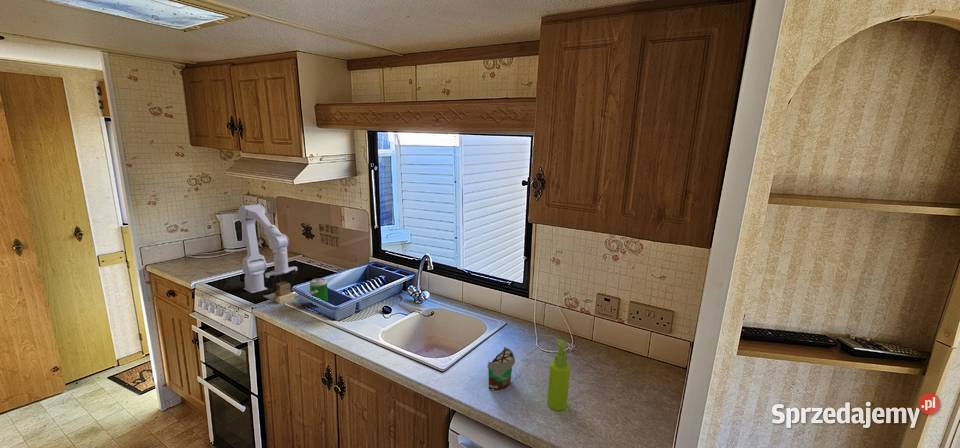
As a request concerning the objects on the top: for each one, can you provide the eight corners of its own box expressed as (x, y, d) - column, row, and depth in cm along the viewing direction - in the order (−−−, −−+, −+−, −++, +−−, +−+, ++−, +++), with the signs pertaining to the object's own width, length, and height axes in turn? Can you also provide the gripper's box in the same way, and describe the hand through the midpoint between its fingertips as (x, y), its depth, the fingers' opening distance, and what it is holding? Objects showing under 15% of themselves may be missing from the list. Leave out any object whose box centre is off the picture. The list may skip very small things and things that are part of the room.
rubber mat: (263, 297, 196) (263, 296, 196) (285, 291, 205) (285, 290, 205) (279, 305, 187) (278, 303, 187) (301, 298, 196) (301, 297, 196)
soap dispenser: (563, 396, 126) (568, 337, 122) (569, 410, 119) (574, 349, 116) (544, 396, 126) (549, 337, 122) (549, 410, 119) (554, 348, 115)
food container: (503, 397, 125) (505, 368, 123) (486, 391, 128) (487, 362, 126) (519, 378, 135) (521, 351, 133) (503, 372, 138) (504, 346, 136)
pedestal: (272, 299, 192) (272, 293, 191) (286, 295, 197) (286, 290, 197) (280, 303, 188) (279, 297, 187) (294, 299, 193) (294, 293, 193)
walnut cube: (275, 293, 191) (274, 283, 190) (285, 291, 195) (284, 281, 194) (280, 296, 188) (280, 286, 187) (290, 293, 192) (290, 283, 191)
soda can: (324, 300, 195) (323, 276, 193) (330, 305, 189) (329, 281, 187) (308, 303, 190) (307, 279, 188) (313, 308, 185) (312, 284, 182)
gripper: (269, 266, 181) (271, 294, 183) (300, 259, 192) (301, 286, 195) (261, 263, 185) (264, 291, 187) (292, 256, 196) (293, 283, 199)
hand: (282, 288), depth 191 cm, fingers open, 7 cm apart
